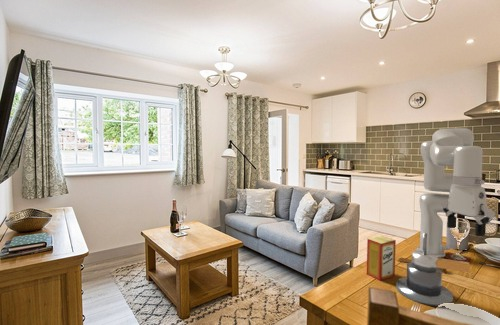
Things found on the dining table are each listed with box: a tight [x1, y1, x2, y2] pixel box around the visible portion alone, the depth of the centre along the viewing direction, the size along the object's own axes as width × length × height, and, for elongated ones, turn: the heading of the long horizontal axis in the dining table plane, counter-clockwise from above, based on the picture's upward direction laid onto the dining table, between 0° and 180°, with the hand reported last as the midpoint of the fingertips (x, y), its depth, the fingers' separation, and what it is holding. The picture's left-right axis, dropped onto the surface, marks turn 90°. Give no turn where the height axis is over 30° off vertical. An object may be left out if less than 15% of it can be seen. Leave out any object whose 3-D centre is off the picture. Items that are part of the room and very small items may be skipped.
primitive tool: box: [396, 257, 447, 274], centre depth 123 cm, size 19×6×4 cm, turn 46°
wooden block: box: [411, 233, 471, 273], centre depth 97 cm, size 18×8×13 cm, turn 66°
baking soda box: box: [366, 235, 397, 282], centre depth 113 cm, size 10×6×16 cm
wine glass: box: [445, 226, 470, 251], centre depth 146 cm, size 10×10×15 cm
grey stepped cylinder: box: [395, 262, 454, 307], centre depth 99 cm, size 18×18×10 cm
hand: (465, 231), depth 90 cm, fingers open, 9 cm apart
